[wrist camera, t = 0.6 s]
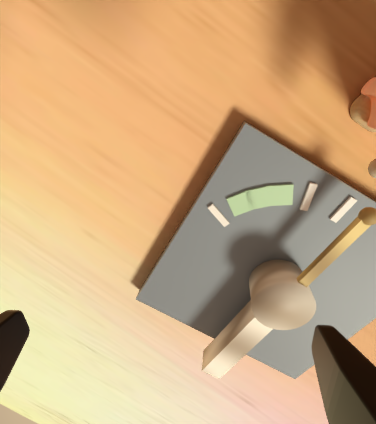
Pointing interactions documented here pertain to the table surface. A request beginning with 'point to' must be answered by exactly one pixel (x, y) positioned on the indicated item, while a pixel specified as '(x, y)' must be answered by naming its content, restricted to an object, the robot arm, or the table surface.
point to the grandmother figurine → (366, 113)
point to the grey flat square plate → (266, 248)
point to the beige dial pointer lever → (277, 300)
